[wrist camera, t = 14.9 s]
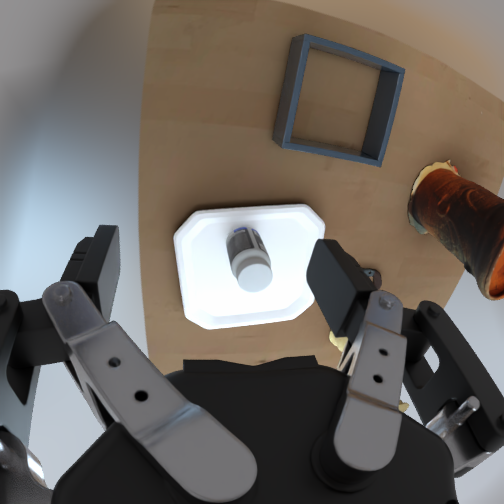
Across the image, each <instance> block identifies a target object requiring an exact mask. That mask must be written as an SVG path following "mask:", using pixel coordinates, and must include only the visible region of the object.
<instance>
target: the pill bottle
mask: <svg viewBox="0 0 504 504" xmlns="http://www.w3.org/2000/svg"><path fill="white" fill-rule="evenodd" d="M226 249H227V253H228V258H229V262H230V266H231V271H232V274H233V275H234V277H235V278H236V279H237V281H238V284H239V286H240V288H241V289H243V290H244V291H246V292H250V293H255V292H259V291H262V290H264V289H265V288H267V287H268V286H269V285H270V283H271V281H272V278H273V274H272V270H271V260H270V257H269V255H268V253H267V250H266V248H265V246H264V244H263V241H262V239H261V237H260V235H259V233H258V232H257V231H256V230H255V229H254V228H251V227H248V226H241V227H237V228H235V229H234V230H232V231H231V232H230V233H229V234H228V236H227V238H226Z"/></svg>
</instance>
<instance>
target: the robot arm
mask: <svg viewBox="0 0 504 504" xmlns="http://www.w3.org/2000/svg"><path fill="white" fill-rule="evenodd" d="M119 275H120V244H119V227H118V226H116V225H99V227H98V229H97V231H96V233H95V235H94V237H85V238H84V239H83V240H82V241H80V242H79V243H78V244H77V246H76V248H75V250H74V253H73V254H72V256H71V258H70V260H69V262H68V264H67V266H66V268H65V271H64V273H63V275H62V277H61V279H60V282H56V283H54V284H52V285H51V286H49V287H48V288H46V290H45V291H44V293H43V295H42V298H40V299H37V300H31V301H24V302H20V301H19V298H18V296H17V294H16V293H15V292H13V291H10V290H0V504H459V503H458V500H457V496H456V490H455V482H454V478H458V477H461V476H462V475H464V474H465V473H467V472H468V471H470V470H471V469H473V468H474V467H476V466H477V465H479V464H480V463H481V462H483V461H484V460H485V459H487V458H488V457H489V456H491V455H492V454H493V453H495V452H496V451H497V450H499V448H501V447H502V446H504V397H503V395H502V394H501V392H500V391H499V389H498V387H497V386H496V384H495V383H494V381H493V379H492V378H491V376H490V375H489V373H488V372H487V370H486V369H485V367H484V365H483V364H482V362H481V361H480V359H479V358H478V357H477V355H476V354H475V352H474V351H473V349H472V348H471V346H470V345H469V343H468V342H467V341H466V339H465V338H464V336H463V335H462V334H461V332H460V331H459V329H458V328H457V327H456V326H455V324H454V323H453V321H452V320H451V319H450V317H449V316H448V315H447V313H446V312H445V311H444V309H443V308H441V307H440V306H439V305H437V304H436V303H434V302H431V301H422V302H420V304H419V306H418V307H417V309H416V310H413V309H408V308H403V304H402V302H401V301H400V300H399V299H398V298H397V297H396V296H395V295H393V294H391V293H389V292H387V291H383V290H378V289H377V288H376V286H375V285H374V284H373V282H372V281H371V280H370V278H369V277H368V276H367V274H366V273H364V270H363V269H362V268H361V267H360V265H359V264H358V263H357V261H356V260H355V259H354V258H353V257H352V256H350V255H349V254H348V253H346V252H345V251H344V250H343V249H342V247H341V246H340V245H339V243H338V242H337V241H336V240H331V239H318V240H317V241H316V243H315V245H314V249H313V252H312V255H311V258H310V261H309V264H308V267H307V271H306V280H307V284H308V286H309V288H310V289H311V291H312V293H313V295H314V297H315V299H316V301H317V303H318V305H319V307H320V309H321V311H322V313H323V315H324V317H325V319H326V321H327V323H328V325H329V327H330V329H331V331H332V333H333V335H334V336H335V338H341V337H347V338H348V340H347V342H346V344H345V346H344V349H343V352H342V355H341V358H340V361H339V363H338V366H337V369H334V368H331V367H328V366H323V365H318V362H317V360H316V358H315V355H311V356H298V357H285V358H281V359H278V360H274V361H271V362H267V363H264V364H260V365H256V366H250V365H244V364H238V363H233V362H227V361H222V360H183V370H179V371H175V372H172V373H169V374H167V375H165V376H164V375H163V374H162V373H161V372H160V371H159V370H158V369H157V368H156V367H155V366H154V364H153V363H152V362H151V361H150V360H149V359H148V358H147V357H146V356H145V354H144V353H143V352H142V351H141V350H140V349H139V348H138V346H137V345H136V344H135V343H134V342H133V341H132V339H131V338H130V337H129V336H128V335H127V333H126V332H125V331H124V330H123V329H122V327H121V326H120V325H119V324H118V323H117V322H116V321H112V322H109V321H110V315H111V311H112V306H113V301H114V296H115V292H116V288H117V284H118V279H119ZM430 346H432V348H433V349H434V351H435V352H436V354H437V356H438V358H439V362H440V363H439V367H438V369H437V371H436V372H435V373H434V372H433V371H432V369H431V367H430V366H429V364H428V362H427V360H426V359H425V357H424V354H425V353H426V352H427V350H428V349H429V347H430ZM57 362H63V363H64V365H65V367H66V369H67V370H68V372H69V373H70V375H71V377H72V379H73V380H74V382H75V384H76V385H77V387H78V389H79V390H80V392H81V393H82V395H83V396H84V398H85V400H86V401H87V403H88V405H89V406H90V408H91V410H92V412H93V414H94V415H95V417H96V418H97V420H98V422H99V423H100V424H101V426H102V427H103V429H104V430H105V432H104V433H103V434H102V435H101V436H100V437H99V438H98V439H97V440H96V441H95V442H94V443H93V444H92V445H91V447H90V448H89V449H88V450H87V451H86V452H85V453H84V454H83V455H82V456H81V457H80V458H79V459H78V460H77V461H76V462H75V463H74V464H73V465H72V466H71V467H70V468H69V469H68V470H67V471H66V472H65V473H64V474H63V475H62V476H61V478H60V479H59V480H58V482H57V484H56V485H55V488H54V490H51V489H49V488H48V487H47V485H46V484H45V481H44V478H43V470H42V466H41V464H40V462H39V460H38V459H37V457H36V456H35V455H34V454H33V453H32V452H31V451H30V450H29V449H28V443H29V434H30V426H31V419H32V412H33V405H34V399H35V393H36V388H37V383H38V378H39V373H40V367H41V365H46V364H52V363H57ZM402 382H403V384H404V386H405V388H406V390H407V392H408V394H409V396H410V398H411V400H412V402H413V404H414V406H415V408H416V410H417V412H418V414H419V416H420V419H421V421H422V423H423V425H424V426H423V425H422V424H420V423H418V422H417V421H415V420H414V419H412V418H411V417H409V416H407V415H406V414H405V413H403V412H402V411H400V410H399V401H400V395H401V388H402Z"/></svg>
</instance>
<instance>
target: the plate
mask: <svg viewBox="0 0 504 504" xmlns="http://www.w3.org/2000/svg"><path fill="white" fill-rule="evenodd" d="M241 226H248V227H251V228H254V229H255V230H256V231H257V232H258V233H259V235H260V237H261V239H262V241H263V244H264V246H265V248H266V250H267V253H268V255H269V257H270V260H271V270H272V274H273V278H272V281H271V283H270V285H269V286H268V287H267V288H265V289H264V290H262V291H259V292H255V293H250V292H246V291H244V290H243V289H241V288H240V286H239V284H238V281H237V279H236V278H235V277H234V275H233V274H232V271H231V266H230V262H229V258H228V253H227V249H226V238H227V236H228V234H229V233H230V232H231V231H232V230H234V229H235V228H237V227H241ZM324 232H325V223H324V221H323V220H322V219H321V218H320V217H319V216H318V215H317V214H316V213H315V212H314V211H313V210H312V209H311V208H310V207H309V206H308V205H306V204H283V205H265V206H249V207H234V208H220V209H207V210H198V211H195V212H193V213H192V215H191V216H190V217H189V218H188V219H187V220H186V221H185V222H184V223H183V224H182V225H181V226H180V228H179V229H178V230H177V231H176V232H175V234H174V237H173V238H174V246H175V253H176V260H177V267H178V274H179V281H180V288H181V294H182V300H183V306H184V312H185V316H186V318H187V319H189V320H191V321H193V322H194V323H196V324H198V325H200V326H202V327H203V328H205V329H217V328H227V327H236V326H245V325H253V324H262V323H269V322H277V321H284V320H292V319H294V318H296V317H297V316H298V315H299V314H301V313H302V312H303V311H304V310H306V309H307V308H308V307H309V306H310V305H312V303H313V302H314V295H313V293H312V291H311V289H310V288H309V286H308V284H307V280H306V271H307V267H308V264H309V261H310V258H311V255H312V252H313V249H314V245H315V243H316V241H317V240H318V239H324Z"/></svg>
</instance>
